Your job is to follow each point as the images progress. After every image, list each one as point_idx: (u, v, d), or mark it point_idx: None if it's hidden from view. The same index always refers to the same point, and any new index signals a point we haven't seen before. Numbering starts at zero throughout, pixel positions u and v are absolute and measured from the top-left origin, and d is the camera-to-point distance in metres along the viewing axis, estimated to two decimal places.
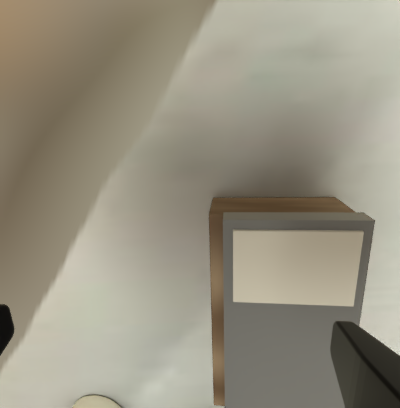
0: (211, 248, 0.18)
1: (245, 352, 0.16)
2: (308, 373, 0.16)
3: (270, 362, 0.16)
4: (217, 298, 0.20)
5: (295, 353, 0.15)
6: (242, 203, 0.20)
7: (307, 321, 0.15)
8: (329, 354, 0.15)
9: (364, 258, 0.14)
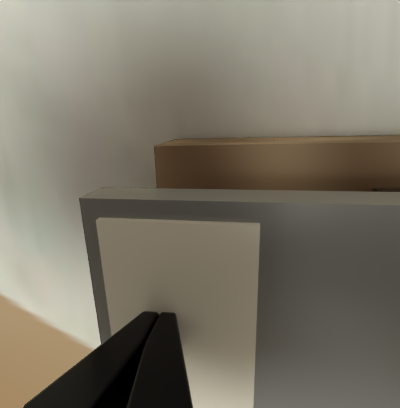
0: None
1: None
2: None
3: None
4: None
5: (398, 330, 0.07)
6: None
7: (305, 305, 0.07)
8: None
9: (152, 208, 0.07)
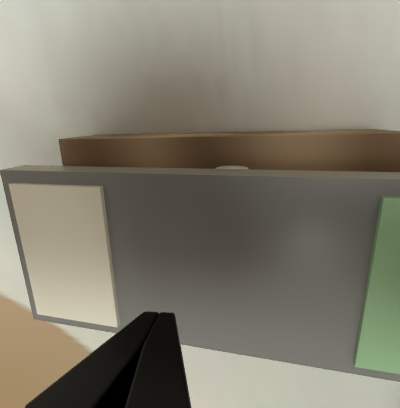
0: None
1: (197, 322, 0.11)
2: (230, 241, 0.10)
3: (211, 292, 0.10)
4: None
5: (192, 258, 0.10)
6: None
7: (137, 241, 0.10)
8: (189, 211, 0.10)
9: (42, 176, 0.11)
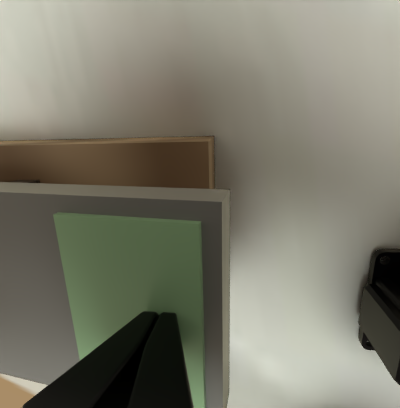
0: None
1: None
2: None
3: None
4: None
5: None
6: None
7: None
8: None
9: None
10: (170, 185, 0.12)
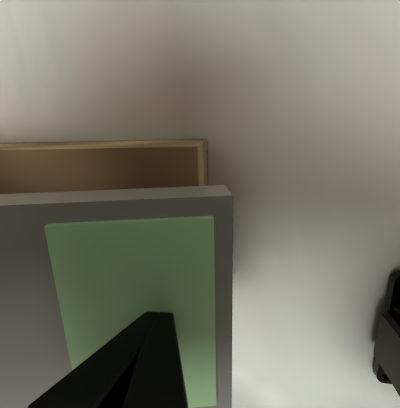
0: None
1: None
2: None
3: None
4: None
5: None
6: None
7: None
8: None
9: None
10: None
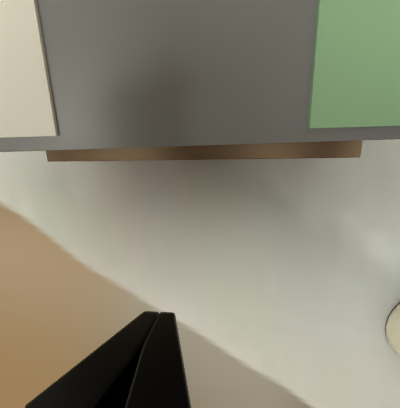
0: (89, 158, 0.15)
1: (154, 112, 0.10)
2: None
3: (168, 69, 0.10)
4: (159, 151, 0.14)
5: (144, 24, 0.09)
6: None
7: (75, 7, 0.09)
8: None
9: None
10: None
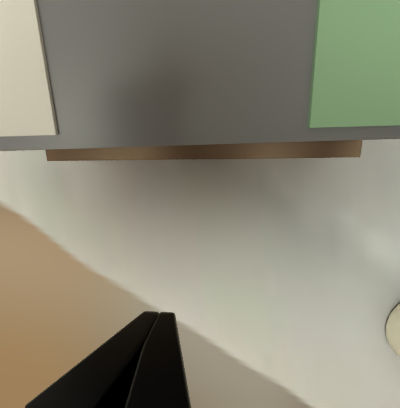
0: (89, 158, 0.15)
1: (154, 111, 0.10)
2: None
3: (168, 68, 0.10)
4: (158, 150, 0.14)
5: (144, 23, 0.09)
6: None
7: (75, 6, 0.09)
8: None
9: None
10: None
